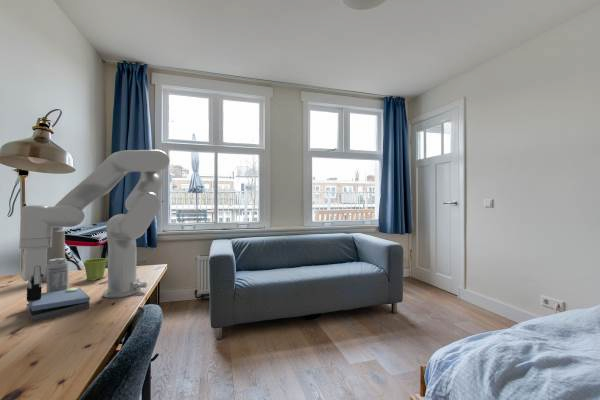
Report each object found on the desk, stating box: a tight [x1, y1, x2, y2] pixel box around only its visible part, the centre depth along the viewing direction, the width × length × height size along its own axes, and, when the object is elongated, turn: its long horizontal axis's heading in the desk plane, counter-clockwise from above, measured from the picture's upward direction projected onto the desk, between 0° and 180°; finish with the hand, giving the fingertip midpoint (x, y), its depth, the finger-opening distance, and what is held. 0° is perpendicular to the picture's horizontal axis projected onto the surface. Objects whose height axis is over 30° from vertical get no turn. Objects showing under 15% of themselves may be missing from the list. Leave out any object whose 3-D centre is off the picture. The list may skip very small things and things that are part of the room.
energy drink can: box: [46, 257, 69, 293], centre depth 99 cm, size 6×6×15 cm
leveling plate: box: [27, 287, 91, 311], centre depth 90 cm, size 14×14×2 cm
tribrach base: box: [26, 302, 90, 323], centre depth 90 cm, size 14×14×2 cm
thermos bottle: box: [41, 226, 66, 282], centre depth 123 cm, size 8×8×28 cm
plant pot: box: [82, 257, 108, 281], centre depth 124 cm, size 9×9×9 cm
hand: (33, 299), depth 85 cm, fingers closed
